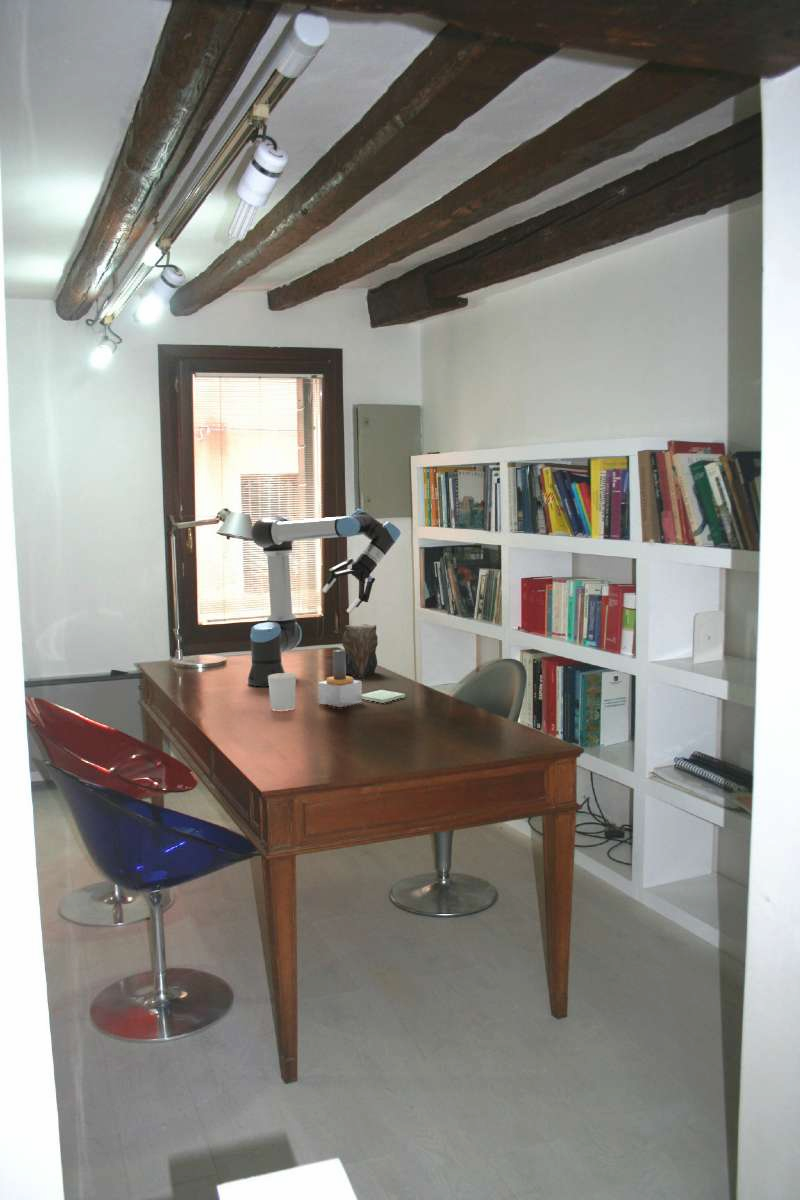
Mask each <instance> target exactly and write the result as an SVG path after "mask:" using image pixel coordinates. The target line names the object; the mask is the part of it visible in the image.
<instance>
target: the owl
mask: <svg viewBox="0 0 800 1200" xmlns="http://www.w3.org/2000/svg"><path fill="white" fill-rule="evenodd" d="M344 629H345V631H344V633H343V635H342V639H341V641H342V647H343V649H344V650H345V657H346V674H349V675H348V676H350V675H355V676H360V677H359V678H362V677H363V676H365V677H367V676H366V675H368V676H371V675H373V674H372V673H374V674H375V673H376V669H377V666H378V659H377V658H378V657H377V654H376V652H377V646H378V638H379V637H378V635H377V625H376V624H375V625H371V624H364V623H363V624H360V625H350V624H348V625H345V626H344ZM370 674H371V675H370ZM355 676H354V677H355ZM363 678H364V677H363Z"/></svg>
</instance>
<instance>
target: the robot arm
mask: <svg viewBox="0 0 800 1200" xmlns="http://www.w3.org/2000/svg"><path fill="white" fill-rule="evenodd" d="M360 535H363V536H364V537H367V538H368V539H369V540H370V542H369V543H368V544H367V546H366V547H365V548H364V549H363V550H362V551H363V552H361V554H360V555H359V556H358V558H356V560H355V561H354V559H353V558H351V557H347V559H345V561H343V562H340V563H339V564H337V565H334V566H333V567H331V568H329V569H328V572H329V577H328V578H327V580H326V584H325V585H324V586H323V588H322V589H321V592H323V593H325V594H326V593H327V592H328V591H329V590H330V589H331V587H332V586H333V585H334V583H335V582H336V581H337V578H338V577H343V576H348V575H352V576H353V577H354V578H355V579H356V580H357V581H358V597H355V599H354V600H353V601H352V603H350V605H349V607H348V608H347V609H346V611H345V612H347V613H349V614H352V612H353V611H354V610H355V608H359V606H360V605H361V604H362V603H363V602H364V603H368V602H369V599H370V596H371V591H372V587H373V585H374V582H375V581H376V578H375V577H373V576H371V574H372V573H373V572H374V570H375V569H376V568H377V566H378V564H380V563H381V561H382V559H384V557H385V556H386V554H387V553H388V552H389V551H390V550H391V548H392V547H393V546H394V545H395V544H396V542H397V541H398V539H399V537H400V535H401V530H400V529H399V528H398V526H396V525H395V524H393V523H391V522H390V521H386V522H385V523H381V522H380V521H379V520H377V519H376V518H374V517H373V516H372V515H370V514H369V513H368V512H367V511H364V510H363V509H361V508H357V509H356V510H355V511H353V513H352V514H351V515H344V516H335V517H334V516H333V517H324V518H322V517H321V518H313V519H312V518H311V519H303V520H290V519H289V518H287V517H285V516H273V517H266V518H265V517H264V518H261V519H257V521H255V523H254V524H253V525H252V527H251V530H250V536H251V539H252V541H253V542H254V544H255V545H257V546H258V547H261V548H262V549H263V550H262V551H263V553H264V554H265V555H266V556H267V571H268V586H269V601H270V603H269V605H270V615H269V617H267V622H266V621H265V622H261V623H257V624H255V625H253V626H252V627H251V628H250V629H251V630H250V636H249V637H250V652H251V653H250V655H251V666H250V669H249V673H248V677H247V685H248V684H250V685H249V686H251V685H253V686H252V687H256V686H261V687H260V688H266V687H267V686H269V683H268V676H269V675H271V674H277V673H286V672H285V669H284V667H283V664H282V653H284V652H288V651H290V650H293V649H294V648H296V647H298V646H299V644H300V642H301V640H302V638H303V637H302V636H303V633H302V632H303V631H302V628H301V626H300V625H299V623H298V622H297V616H296V615H295V614H293V604H292V589H291V588H292V587H291V586H292V585H291V570H290V569H291V567H290V554H291V552H293V542H294V541H295V542H296V541H303V540H304V541H306V540H319V539H331V538H339V537H341V538H342V537H343V538H344V537H346V538H347V537H348V538H350V537H354V536H360ZM348 566H351V568H347V569H344V568H346V567H348ZM342 569H344V570H342ZM366 579H367V583H366ZM365 584H366V586H365ZM267 688H268V687H267Z"/></svg>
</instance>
